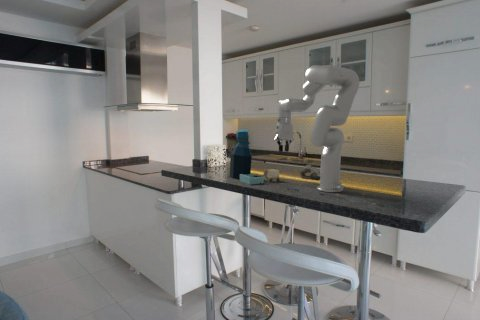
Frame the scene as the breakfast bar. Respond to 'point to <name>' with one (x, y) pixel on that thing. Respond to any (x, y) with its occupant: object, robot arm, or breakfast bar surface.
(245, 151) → the dark teal bottle
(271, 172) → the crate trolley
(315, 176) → the futuristic pistol
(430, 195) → the breakfast bar surface
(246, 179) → the bay
